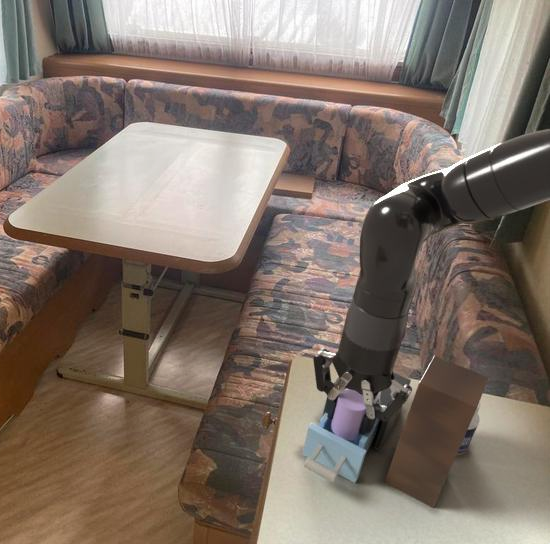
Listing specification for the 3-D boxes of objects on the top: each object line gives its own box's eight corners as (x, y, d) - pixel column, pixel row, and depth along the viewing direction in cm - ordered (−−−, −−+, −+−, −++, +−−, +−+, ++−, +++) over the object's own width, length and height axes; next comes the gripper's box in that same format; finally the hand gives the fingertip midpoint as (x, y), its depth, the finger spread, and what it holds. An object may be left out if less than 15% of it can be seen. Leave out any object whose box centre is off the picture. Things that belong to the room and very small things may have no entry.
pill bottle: (431, 454, 89) (449, 409, 84) (427, 429, 93) (444, 384, 88) (468, 462, 88) (489, 417, 83) (462, 436, 93) (482, 391, 87)
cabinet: (377, 453, 89) (389, 418, 85) (320, 424, 93) (328, 389, 89) (399, 413, 96) (411, 379, 92) (345, 388, 101) (354, 355, 97)
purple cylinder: (365, 427, 86) (374, 397, 83) (354, 445, 83) (363, 415, 80) (337, 413, 88) (345, 384, 85) (326, 430, 85) (333, 401, 82)
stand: (444, 478, 85) (489, 377, 75) (431, 511, 80) (476, 407, 70) (398, 455, 89) (434, 355, 78) (382, 486, 84) (419, 382, 73)
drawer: (342, 506, 79) (350, 478, 76) (287, 475, 83) (293, 447, 80) (377, 442, 89) (386, 416, 86) (327, 417, 93) (334, 391, 90)
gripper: (311, 323, 77) (292, 415, 86) (419, 368, 70) (386, 463, 79) (334, 298, 82) (314, 388, 91) (436, 338, 75) (403, 430, 84)
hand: (347, 422), depth 85 cm, fingers closed on purple cylinder, 4 cm apart
